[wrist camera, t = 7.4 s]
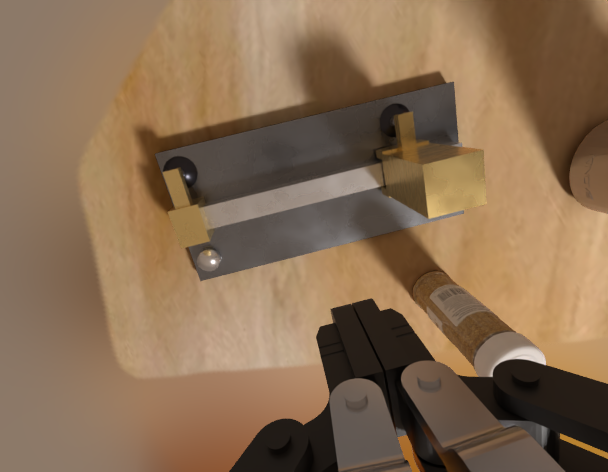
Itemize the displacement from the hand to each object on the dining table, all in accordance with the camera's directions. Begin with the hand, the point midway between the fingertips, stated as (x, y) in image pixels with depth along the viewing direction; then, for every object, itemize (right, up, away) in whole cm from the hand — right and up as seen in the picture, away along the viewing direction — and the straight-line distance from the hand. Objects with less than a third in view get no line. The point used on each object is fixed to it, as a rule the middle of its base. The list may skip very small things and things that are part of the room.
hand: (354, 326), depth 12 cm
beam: (-1, +9, +19) cm, 21 cm away
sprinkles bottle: (+12, -2, +25) cm, 28 cm away
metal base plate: (0, +8, +20) cm, 22 cm away
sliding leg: (+7, +11, +19) cm, 23 cm away
